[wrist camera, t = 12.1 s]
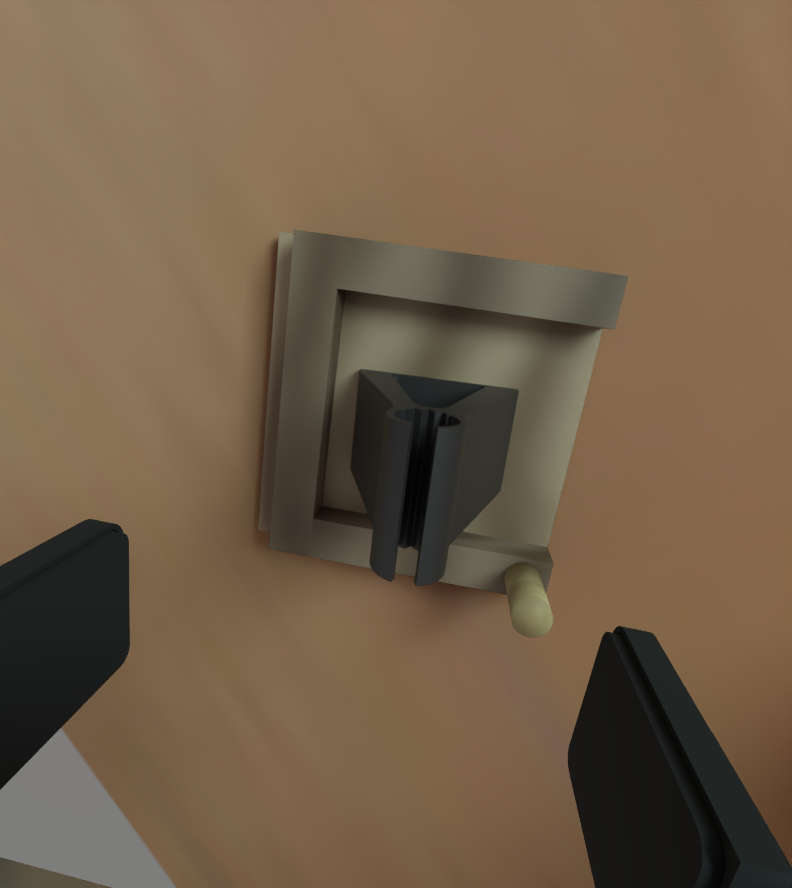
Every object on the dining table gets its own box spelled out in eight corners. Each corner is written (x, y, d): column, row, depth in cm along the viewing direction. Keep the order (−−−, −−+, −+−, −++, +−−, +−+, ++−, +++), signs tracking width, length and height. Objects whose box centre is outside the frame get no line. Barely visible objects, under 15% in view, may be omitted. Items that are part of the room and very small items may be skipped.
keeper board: (609, 280, 26) (661, 269, 20) (535, 575, 31) (557, 647, 24) (285, 234, 28) (230, 209, 21) (264, 523, 33) (213, 578, 26)
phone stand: (351, 466, 30) (283, 563, 18) (361, 367, 28) (293, 406, 17) (499, 489, 29) (527, 606, 17) (519, 389, 27) (563, 445, 16)
